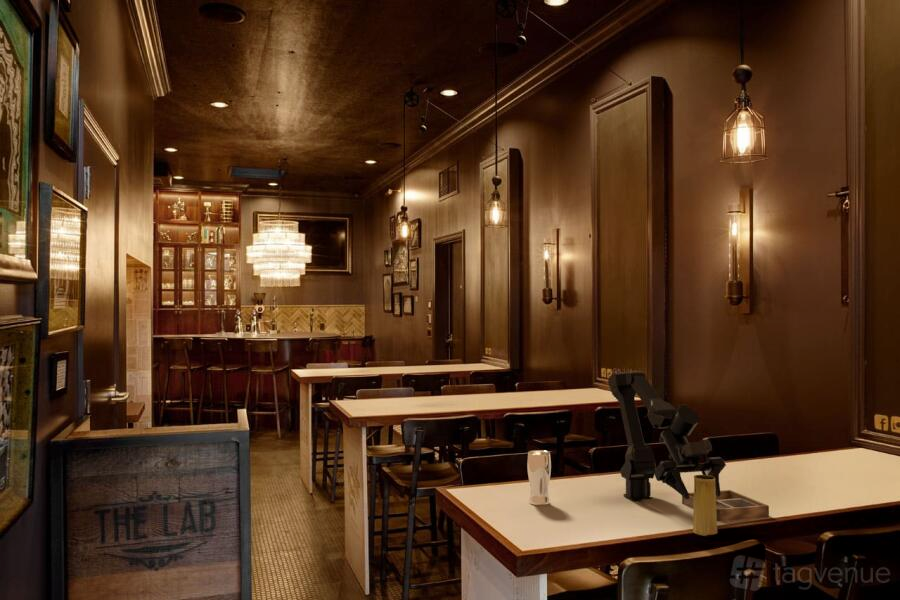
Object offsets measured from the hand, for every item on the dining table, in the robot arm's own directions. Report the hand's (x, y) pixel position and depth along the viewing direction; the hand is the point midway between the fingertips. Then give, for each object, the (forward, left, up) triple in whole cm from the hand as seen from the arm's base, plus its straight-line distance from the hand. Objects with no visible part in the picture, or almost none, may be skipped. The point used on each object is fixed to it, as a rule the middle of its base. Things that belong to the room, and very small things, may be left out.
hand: (703, 497), depth 174 cm
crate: (+16, +15, -9) cm, 23 cm away
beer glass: (-32, +35, -9) cm, 48 cm away
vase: (0, 0, -9) cm, 9 cm away
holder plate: (+19, +12, -8) cm, 23 cm away
